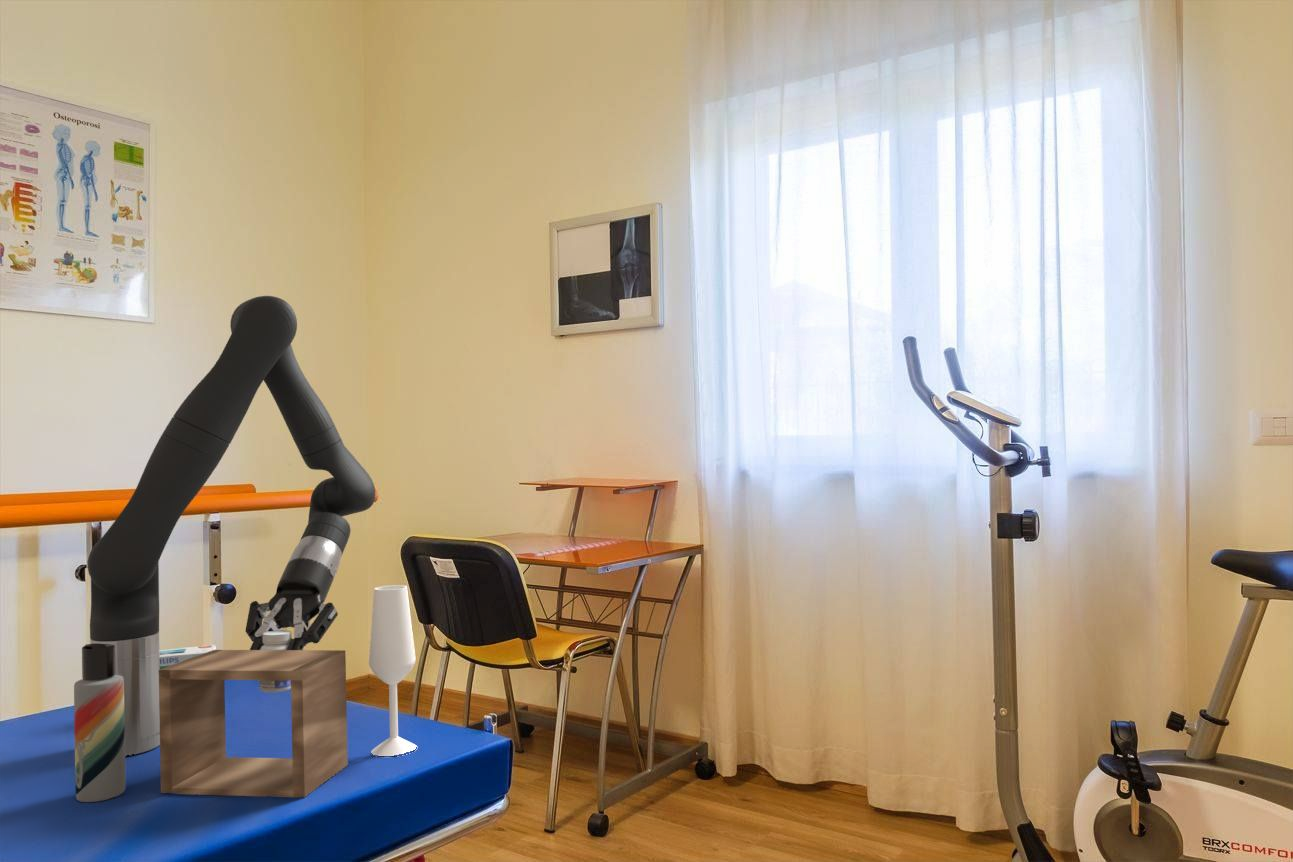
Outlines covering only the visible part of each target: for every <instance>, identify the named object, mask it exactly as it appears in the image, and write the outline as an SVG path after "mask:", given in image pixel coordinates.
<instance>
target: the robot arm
mask: <svg viewBox="0 0 1293 862" xmlns="http://www.w3.org/2000/svg"><path fill="white" fill-rule="evenodd" d="M297 320H298V319H297V315H296V313H295V311H294V309H293V308H292V306H291V305H290V304H289V302H287V301H286V300H284V299H282V298H280V297H277V296H275V295H261V296H255V297H252V298H250V299H247V300H246V301H244V302H241V303H240V304H239V305H238V306H237V307H236V308H235V309H234V311H233V313H232V315H231V318H230V332H231V335H230V336H229V338H228V341H227V342H226V344H225V346H224V348H223V350H222V352H221V354H220V355H219V357H218V359H217V361H216V362H215V363H214V365H213V366H212V368H211V369H210V370H209V371H208V372H207V373H206V375H205V376H204V377H203V378H202V379H201V380H200V381H199V382H198V384H196V386H195V387H194V388H193V389H192V390H191V391H190V392H189V394H188V395H187V397H186V398H185V399H184V400H183V401H182V403H181V404H180V405H179V407H178V408H177V410H176V411H175V413H174V414H173V415H172V417H171V419H170V421H169V423H168V424H167V425H166V427H165V429H164V430H163V432H162V434H161V435H160V437H159V439H158V441H157V442H156V444H155V446H154V448H153V450H152V452H151V454H150V457H149V459H148V460H147V463H146V465H145V467H144V470H143V472H142V474H141V477H140V479H139V480H138V483H137V486H136V488H135V490H134V491H133V494H132V496H131V497H130V499H129V501H128V502H127V504H126V505H125V506H124V507H123V509H122V511H121V512H120V513H119V515H118V516H117V518H116V519H115V520H114V521H113V522H112V524H111V526H110V527H109V528H108V529H107V530H106V531H105V533H104V534H103V535H102V537H101V538H100V539H99V540H98V541H97V542H96V543H95V544H94V546H92V548H91V550H90V552H89V554H88V558H87V570H88V571H87V572H88V575H89V577H90V618H89V641H90V643H89V644H110V645H115V660H116V674H115V675H120V676H122V677H123V678H124V712H125V757H126V756H127V755H129V756H133V755H132V754H134V755H137V754H141V753H145V752H149V751H151V750H154V749H156V748H157V747H158V746H159V747H160V713H159V670H160V651H159V650H160V594H159V593H160V582H159V581H160V579H159V577H160V575H159V574H160V571H159V569H160V568H159V567H160V565H159V563H160V558H161V556H162V554H163V553H164V550H165V548H166V546H167V543H168V541H169V539H170V537H171V535H172V532H173V531H174V529H175V526H176V524H178V521H179V519H180V518H181V516H182V515H183V513H184V512H185V511H186V509H187V508H188V506H190V504H191V502H192V501H193V500H194V498H196V496H197V495H198V493H199V492H200V491H201V489H202V488H203V487H204V485H205V484H206V482H207V481H208V480H209V478H210V477H211V476H212V474H213V473H214V471H215V469H216V468H217V466H218V465H219V463H220V462H221V460H222V459H223V456H224V455H225V453H226V452H227V450H228V448H229V446H230V444H231V443H232V442H233V439H234V437H235V435H236V433H237V431H238V430H239V428H240V426H241V424H242V422H243V420H244V419H245V417H246V414H247V413H248V410H249V409H250V407H251V404H252V402H253V400H254V398H255V396H256V394H257V392H258V390H259V388H260V386H261V385H262V383H263V382H264V383H265V385H266V387H267V388H268V391H270V394H271V395H272V398H273V400H274V402H275V403H276V406H277V408H278V410H279V412H280V414H281V416H282V418H283V420H284V423H285V424H286V427H287V428H288V431H289V432H290V433H289V434H290V435H291V438H292V440H293V441H294V443H295V446H296V447H297V449H298V452H299V453H300V456H301V458H302V459H303V462H304V463H305V465H306V467H308V468H309V469H311V470H316V471H319V470H320V471H325V472H328V473H329V474H330V476H332V477H330V478H326V479H324V480H322V481H320V482H319V483H318V484H317V485H316V486H315V488H314V489H313V491H312V492H311V496H310V502H309V509H308V510H309V511H308V520H307V524H306V527H305V529H304V531H303V532H302V535H301V538H300V539H299V542H298V543H297V545H296V547H295V548H294V550H293V552H292V553H291V554H290V555H291V556H290V558H289V560H288V562H287V564H286V566H285V568H284V571H283V572H282V574H281V577H280V579H279V581H278V584H277V586H276V590H275V591H276V592H275V594H274V596H272V598H270V599H269V601H268V602H263V603H259V602H258V601H257V600H255V601H254V600H253V601H251V603H250V604H249V609H248V615H247V619H246V620H247V621H246V624H245V625H246V626H245V633H246V635H247V636H248V637H249V639H250V640H251V642H252V644H251V646H250V648H249V650H260V648H261V647H262V646H263V645H264V643H263V633H265V632H269V631H277V630H283V629H286V628H293V629H294V631H293V637H294V638H292V639H291V640H290V643H289V645H288V647H287V650H303V649H304V648H305V647H306V646H307V645H308V644H309V643H310V644H311V643H312V644H318V643H320V641H321V640H322V639H323V637H324V635H325V634H326V633H327V631H328V630H329V628H330V627H331V625H332V624H333V623H334V621H335V620H336V618H338V614H339V612H338V611H337V608H336V606H335V605H334V604H333V602H328V603H324V602H325V601H326V598H327V596H328V593H329V592H330V589H331V586H332V585H333V581H334V579H335V577H336V574H337V572H338V570H339V566H340V562H341V558H342V556H343V553H344V551H345V549H346V547H347V544H348V541H349V539H350V535H351V525H350V523H349V522H348V520H347V519H346V518H345V516H350V515H353V514H357V513H361V512H365V511H367V510H369V509H370V508H371V507H372V506H373V505H374V503H375V500H376V488H375V484H374V481H373V479H372V477H371V476H370V474H369V473H368V471H367V470H366V469H365V468H364V467H363V466H362V464H361V463H360V462H359V461H358V459H357V458H355V456H353V454H352V453H351V451H350V450H348V448H347V447H346V446H345V444H344V443H343V439H342V437H341V436H340V433H339V432H338V431H339V430H338V429H337V427H336V425H335V423H334V420H333V418H332V417H331V414H330V413H329V411H328V410H327V408H326V407H325V405H324V403H323V402H322V400H321V399H320V397H319V395H318V394H317V393H316V391H315V390H314V389H313V387H312V385H311V384H310V383H309V380H308V379H307V378H306V376H305V374H304V373H303V370H302V369H301V367H300V365H299V363H298V361H297V358H296V356H295V353H294V350H293V346H292V343H293V340H294V339H295V337H296V335H297V331H298V330H297V329H298V321H297ZM268 612H269V613H268ZM313 619H314V620H313ZM312 620H313V622H312V623H311V625H310V621H312ZM127 757H128V756H127Z"/></svg>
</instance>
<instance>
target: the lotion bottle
mask: <svg viewBox="0 0 1293 862" xmlns="http://www.w3.org/2000/svg"><path fill="white" fill-rule="evenodd" d="M115 674H116V660H115V645H110V644H90V643H88V644H87V643H86V644H85V645H83V646H82V647H81V676H82V677H81V679H79V680H77V681H75V683H73V684H74V685H73V707H74V708H73V709H74V712H73V713H74V716H73V717H74V718H73V719H74V720H73V721H74V724H73V725H74V775H75V776H74V779H75V780H74V781H75V782H74V784H75V797H76V801H78V802H80V803H81V802H82V803H94V802H95V803H96V802H101V801H102V802H103V801H106V800H110V798H111V799H113V797H114V798H116V797H118V796H120V795H121V794H123V793H124V792H125V791H126V756H125V712H124V678H123V677H122V676H120V675H115Z"/></svg>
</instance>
